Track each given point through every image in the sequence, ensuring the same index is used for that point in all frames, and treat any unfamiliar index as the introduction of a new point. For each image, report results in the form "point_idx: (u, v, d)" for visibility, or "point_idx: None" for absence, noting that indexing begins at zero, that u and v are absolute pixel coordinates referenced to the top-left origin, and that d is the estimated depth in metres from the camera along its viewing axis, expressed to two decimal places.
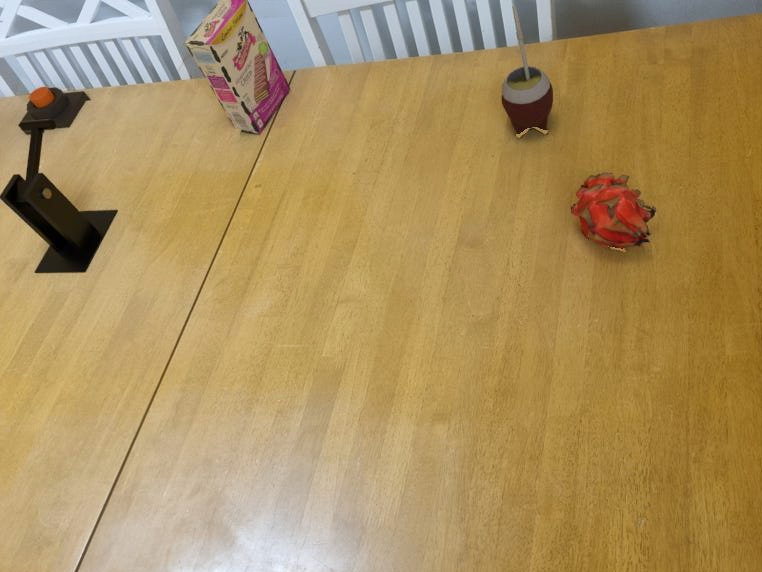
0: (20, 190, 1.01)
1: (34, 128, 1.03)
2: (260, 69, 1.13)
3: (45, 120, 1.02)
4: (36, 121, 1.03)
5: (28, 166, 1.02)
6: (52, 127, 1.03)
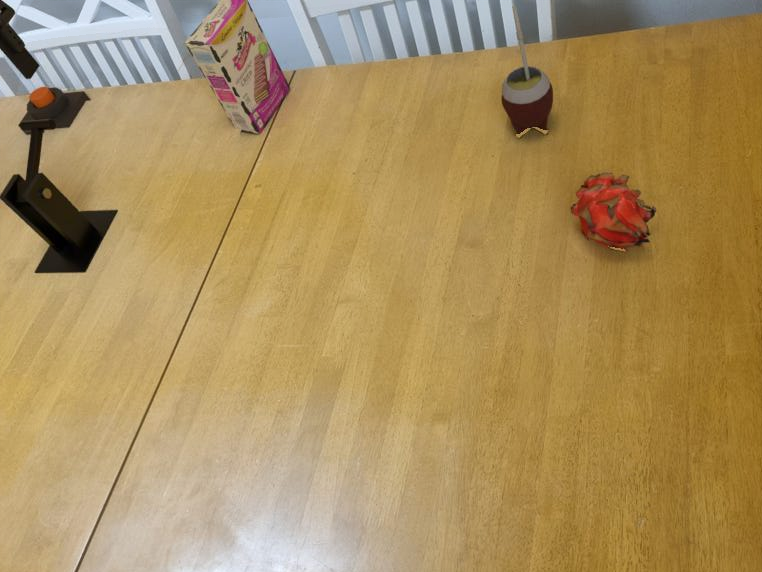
0: (20, 190, 1.01)
1: (34, 128, 1.03)
2: (260, 69, 1.13)
3: (45, 120, 1.02)
4: (36, 121, 1.03)
5: (28, 166, 1.02)
6: (52, 127, 1.03)
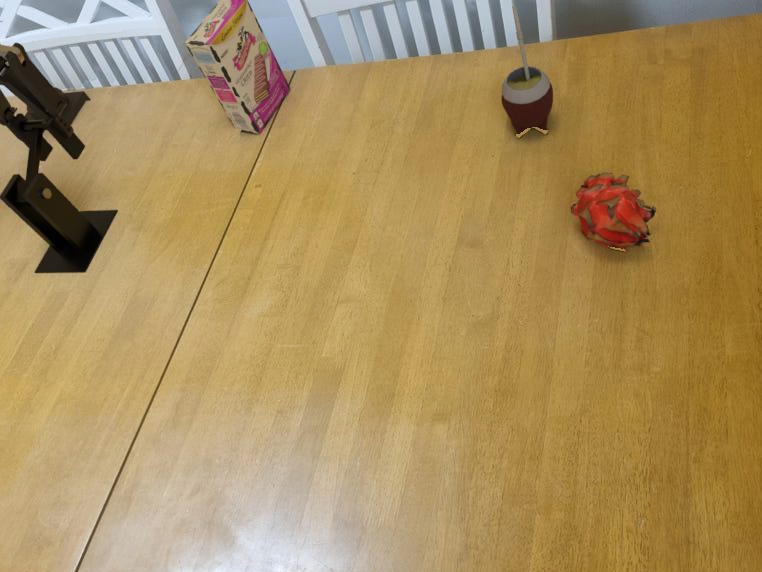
0: (20, 190, 1.01)
1: (34, 128, 1.03)
2: (260, 69, 1.13)
3: None
4: (36, 121, 1.03)
5: (28, 166, 1.02)
6: None
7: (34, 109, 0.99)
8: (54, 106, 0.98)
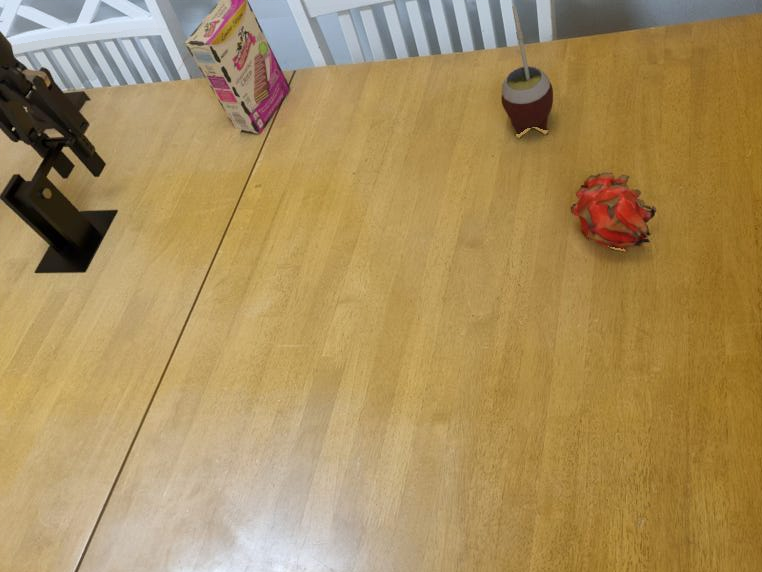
0: (21, 187, 1.01)
1: (55, 142, 1.06)
2: (260, 69, 1.13)
3: None
4: (59, 137, 1.06)
5: (37, 171, 1.04)
6: None
7: (58, 130, 1.03)
8: (78, 127, 1.02)
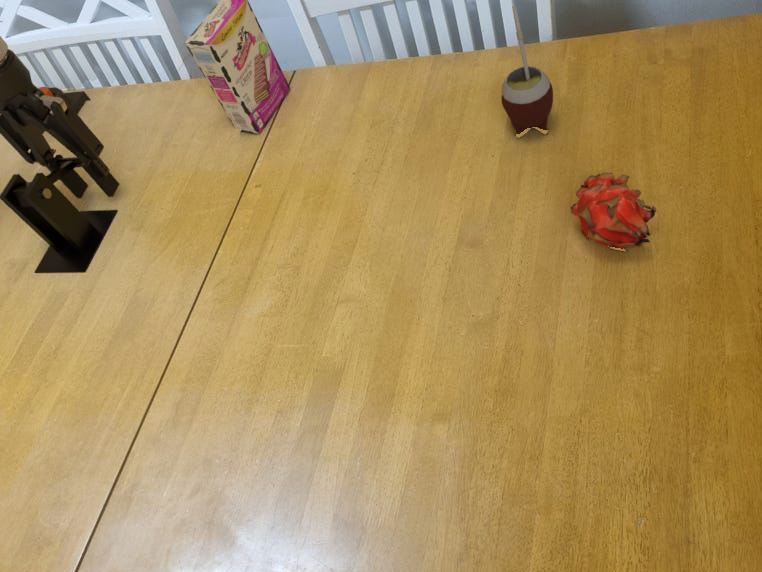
0: (24, 185, 1.02)
1: (69, 161, 1.09)
2: (260, 69, 1.13)
3: None
4: (75, 157, 1.09)
5: None
6: None
7: (74, 152, 1.06)
8: (93, 150, 1.05)
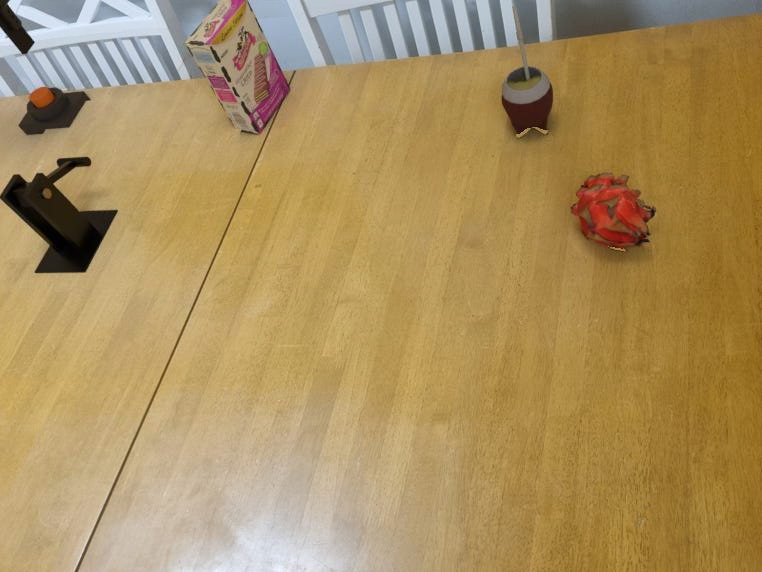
0: (24, 185, 1.02)
1: (69, 161, 1.09)
2: (260, 69, 1.13)
3: None
4: (75, 157, 1.09)
5: None
6: (86, 163, 1.09)
7: None
8: None
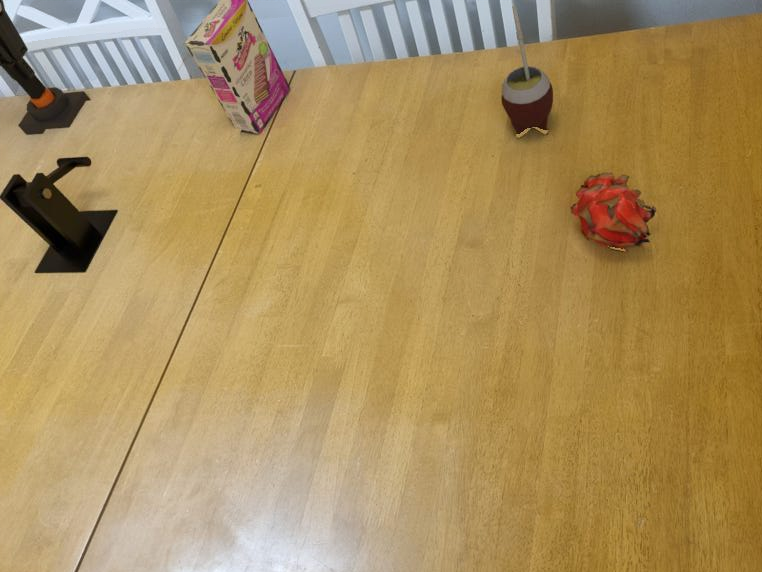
0: (24, 185, 1.02)
1: (69, 161, 1.09)
2: (260, 69, 1.13)
3: None
4: (75, 157, 1.09)
5: None
6: (86, 163, 1.09)
7: (2, 52, 1.19)
8: (18, 51, 1.18)
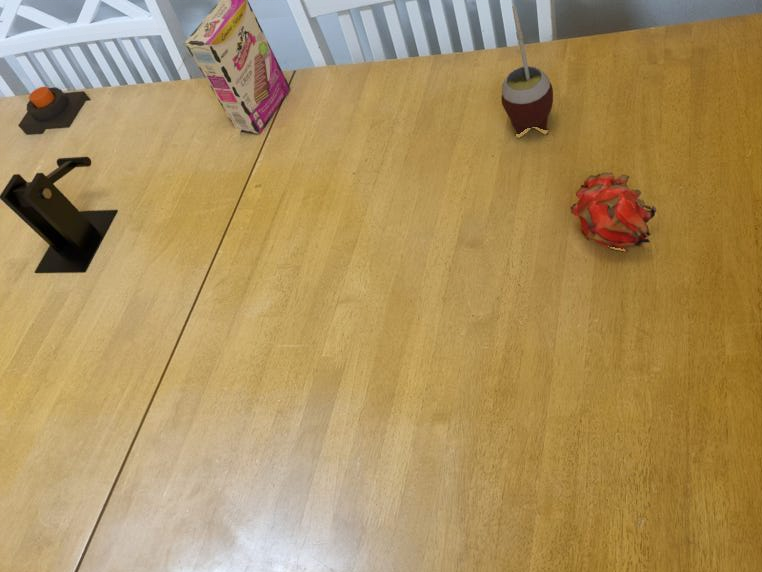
0: (24, 185, 1.02)
1: (69, 161, 1.09)
2: (260, 69, 1.13)
3: None
4: (75, 157, 1.09)
5: None
6: (86, 163, 1.09)
7: None
8: None
